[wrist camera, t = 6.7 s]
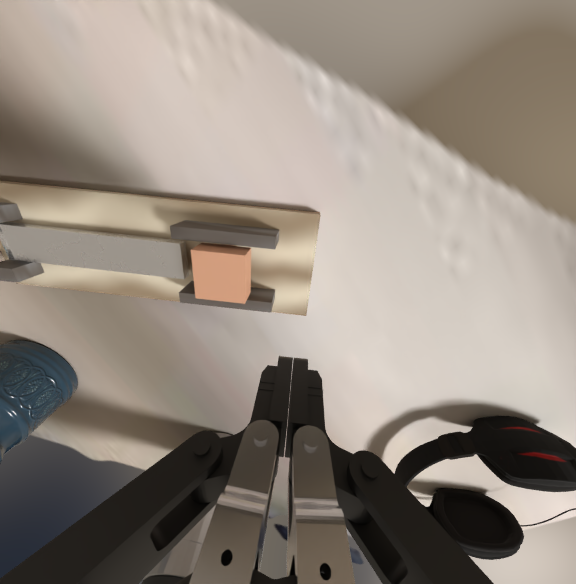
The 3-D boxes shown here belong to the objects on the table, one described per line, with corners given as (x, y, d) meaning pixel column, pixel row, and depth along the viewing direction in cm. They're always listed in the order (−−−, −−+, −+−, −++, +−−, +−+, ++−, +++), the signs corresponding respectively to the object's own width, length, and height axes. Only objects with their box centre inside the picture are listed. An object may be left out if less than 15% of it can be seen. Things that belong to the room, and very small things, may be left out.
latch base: (306, 309, 31) (306, 331, 26) (28, 278, 32) (-15, 294, 27) (319, 212, 25) (322, 220, 21) (-16, 179, 26) (-77, 180, 22)
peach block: (250, 292, 26) (245, 303, 24) (205, 287, 26) (195, 298, 24) (251, 247, 24) (245, 255, 21) (202, 242, 24) (190, 249, 22)
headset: (556, 491, 44) (610, 559, 37) (412, 511, 51) (431, 572, 43) (551, 392, 34) (625, 457, 26) (371, 433, 41) (386, 494, 33)
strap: (189, 274, 27) (183, 279, 26) (18, 255, 28) (5, 259, 27) (185, 240, 26) (179, 244, 24) (3, 221, 26) (-12, 223, 25)
